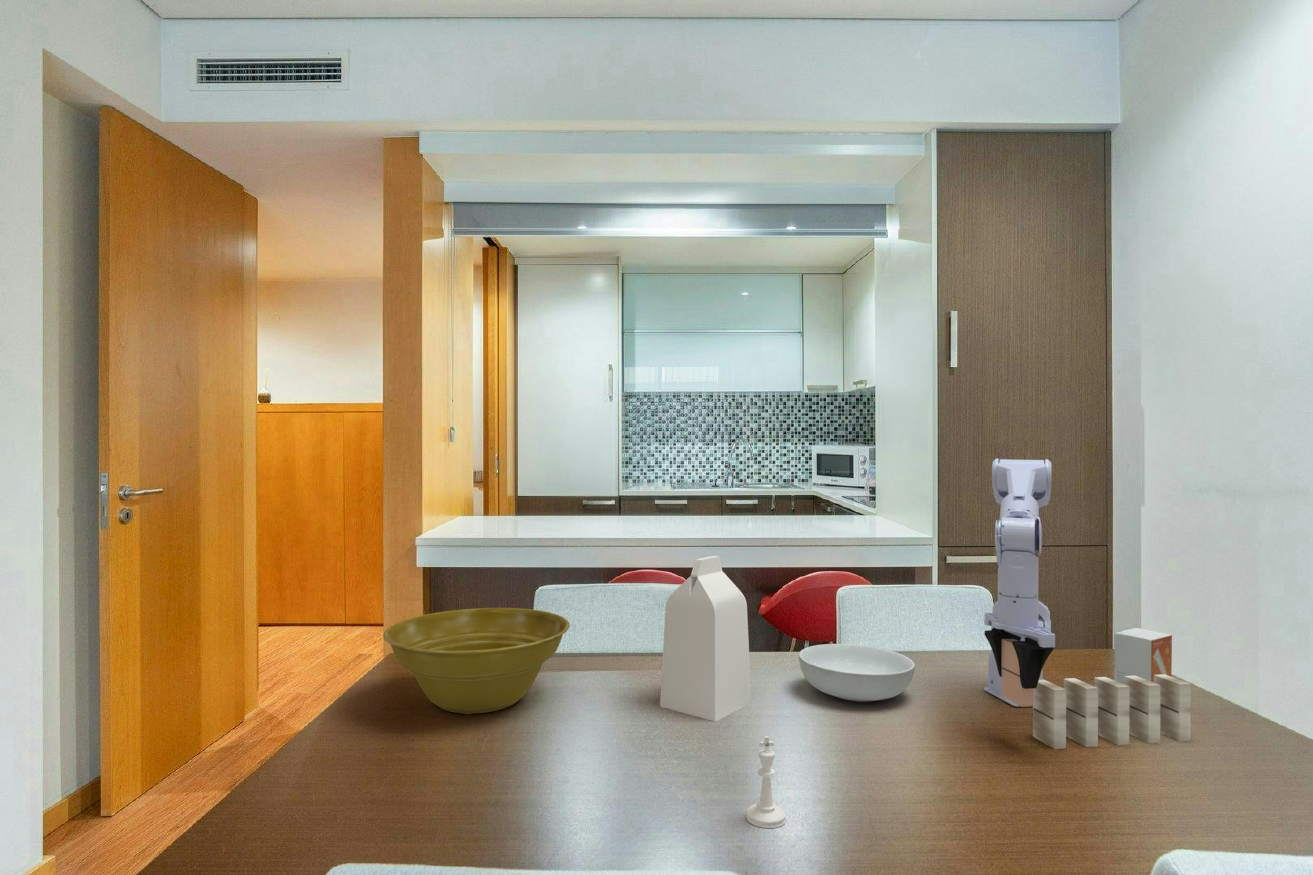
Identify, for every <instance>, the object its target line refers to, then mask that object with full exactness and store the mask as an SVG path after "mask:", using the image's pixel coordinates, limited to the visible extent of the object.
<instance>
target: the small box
mask: <svg viewBox="0 0 1313 875" xmlns="http://www.w3.org/2000/svg"><path fill="white" fill-rule="evenodd" d="M1113 643H1114V644H1113V645H1114V647H1113V648H1114V649H1113V650H1114V653H1113V654H1114V655H1113V657H1114V658H1113V659H1114V660H1113V662H1114V663H1113V667H1114V668H1113V669H1114V670H1113V672H1114V673H1113V676H1114V678H1113V680H1114V681H1117V682H1119V683H1122V684H1124V676H1137V677H1140V678H1143V679H1145V680H1148V681H1151V682H1153V683H1154V675H1160V674H1165V675H1168V676H1171V677H1172V671H1173V670H1172V668H1173V667H1172V662H1173V661H1172V660H1173V658H1172V655H1173V654H1172V652H1173V651H1172V649H1173V648H1172V647H1173V645H1172V644H1173V635H1172V634H1170V633H1165V632H1159V631H1155V630H1150V629H1145V628H1140V627H1133V628H1130V629H1124V630H1122V631H1118V632H1115V633H1114V642H1113Z"/></svg>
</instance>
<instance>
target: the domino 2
mask: <svg viewBox="0 0 1313 875" xmlns="http://www.w3.org/2000/svg"><path fill="white" fill-rule="evenodd" d="M1063 688H1064V689H1066V738H1069V739H1071V740H1072V741H1075V742H1076V743H1078V744H1080V745H1082V746H1084V747H1085V748H1093V747H1095V748H1096V747H1099V744H1098V743H1099V735H1098V688H1097V687H1094V685H1092V684H1090V683H1087V682H1085V681H1082V680H1080V679H1077V678H1076V677H1075V678H1070V677H1069V678H1063Z"/></svg>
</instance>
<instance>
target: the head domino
mask: <svg viewBox="0 0 1313 875" xmlns="http://www.w3.org/2000/svg"><path fill="white" fill-rule="evenodd" d="M1012 641H1018V640H1015V639H1002V684H1001V696H1002V697H1004V698H1006V699H1008V700H1010V701H1012V702H1014V703H1016V704H1017V705H1019V706H1018V707H1022V708H1023V707H1024V708H1025V707H1033V706H1034V688H1032V689H1024V688H1022V686H1021V682H1020V671H1019V663H1018V658H1017V654H1016V651H1015V649H1014V647H1013V645H1012Z"/></svg>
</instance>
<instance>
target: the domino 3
mask: <svg viewBox="0 0 1313 875" xmlns="http://www.w3.org/2000/svg"><path fill="white" fill-rule="evenodd" d="M1093 679H1094V680H1093V683H1094V684H1093V686H1094V687H1097V688H1098V737H1101V738H1103V739H1105V740H1107V741H1109V742H1111V743H1112V744H1114V745H1117V746H1128V745H1130V734H1129V686H1127V685H1124V684H1122V683H1119V682H1117V681H1114V679H1112V678H1109V677H1107V676H1098V677H1097V676H1096V677H1094V678H1093Z"/></svg>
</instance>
